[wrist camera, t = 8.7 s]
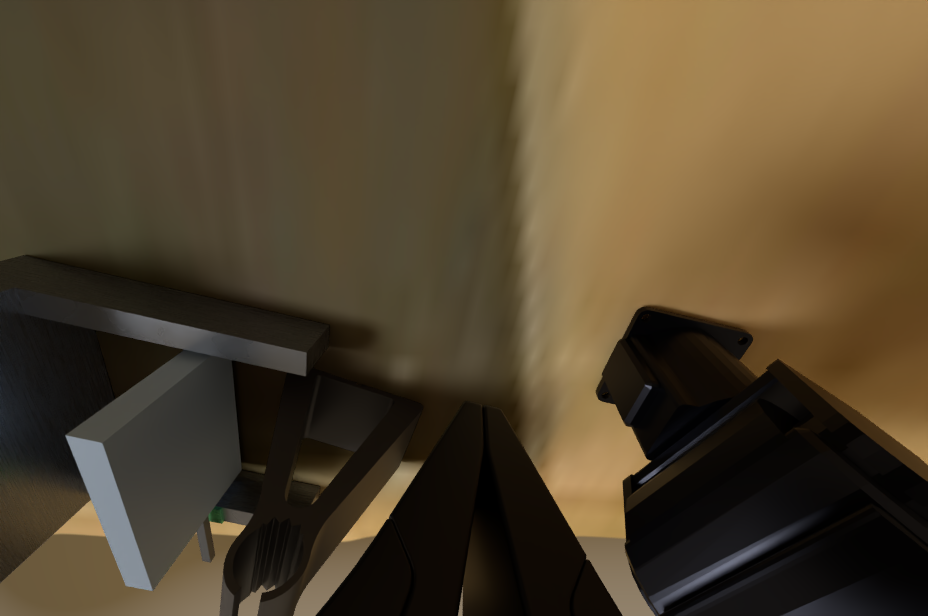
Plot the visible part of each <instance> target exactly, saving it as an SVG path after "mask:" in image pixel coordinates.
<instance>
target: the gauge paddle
mask: <svg viewBox="0 0 928 616" xmlns="http://www.w3.org/2000/svg"><path fill="white" fill-rule="evenodd" d="M65 436H66V439H67V441H68V444H69V446H70V448H71V451H72V453H73V456H74V458H75V461H76V463H77V466H78V468H79V471H80V473H81V476H82V478H83V481H84V483H85V486H86V488H87V491H88V493H89V496H90V498H91V500H92V503H93V505H94V508H95V510H96V513H97V515H98V518H99V520H100V523H101V525H102V528H103V530H104V533H105V535H106V538H107V540H108V543H109V545H110V547H111V550H112V552H113V555H114V557H115V560H116V562H117V565H118V567H119V570H120V572H121V575H122V577H123V579H124V582H125V585H126V586H130V587H135V588H140V589H145V590H150V591H153V590H154V589H155V587H156V586H157V585H158V583H159V582H160V581H161V579H162V578H163V577H164V575H165V574H166V572H167V571H168V570H169V568H170V567H171V566H172V564H173V563H174V562H175V560H176V559H177V557H178V556H179V555H180V553H181V552H182V551H183V549H184V548H185V546H186V545H187V544H188V542H189V541H190V539H191V538H192V537H193V536H194V534H195V533H196V532H197V535H198V541H199V546H200V550H201V556H202V560H203V561H206V562H211V561H212V559H213V558H214V556H215V551H214V546H213V540H212V534H211V528H210V522H209V516H208V515H209V514H210V512H211V511H212V510H213V508H214V507H215V506H216V504H217V503H218V502H219V500H220V499H221V497H222V496H223V495H224V493H225V492H226V491H227V489H228V488H229V487H230V485H231V484H232V482H233V481H234V480H235V478H236V477H237V476H238V474H239V473H240V472H241V470H242V467H241V457H240V446H239V435H238V424H237V413H236V403H235V392H234V381H233V370H232V360H229V359H225V358H220V357H216V356H211V355H207V354H202V353H198V352H193V351H189V350H183V351H182V352H181V353H179V354H178V355H177V356H175V357H174V358H172V359H171V360H170V361H168V362H167V363H165V364H164V365H163V366H161V367H160V368H158V369H157V370H156V371H154V372H153V373H151V374H150V375H149V376H147V377H146V378H144V379H143V380H142V381H140V382H139V383H137V384H136V385H135V386H133V387H132V388H130V389H129V390H128V391H126V392H125V393H123V394H122V395H121V396H119V397H118V398H116V399H115V400H114V401H112V402H111V403H110V404H108V405H107V406H105V407H104V408H103V409H101V410H100V411H98V412H97V413H96V414H94V415H93V416H91V417H90V418H89V419H87V420H86V421H84V422H83V423H82V424H80V425H79V426H77V427H76V428H75V429H73V430H72V431H70V432H69V433H68V434H66V435H65Z"/></svg>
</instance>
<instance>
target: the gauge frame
mask: <svg viewBox="0 0 928 616" xmlns="http://www.w3.org/2000/svg"><path fill="white" fill-rule="evenodd" d="M329 327H330V325H328V324H324V323H319V322H315V321H310V320H306V319H302V318H297V317H293V316H288V315H284V314H280V313H275V312H271V311H266V310H262V309H258V308H253V307H249V306H244V305H240V304H236V303H231V302H227V301H222V300H218V299H214V298H209V297H205V296H200V295H196V294H192V293H187V292H183V291H178V290H174V289H170V288H165V287H161V286H156V285H152V284H148V283H143V282H139V281H134V280H130V279H126V278H121V277H117V276H112V275H108V274H104V273H99V272H95V271H90V270H86V269H82V268H77V267H73V266H68V265H64V264H60V263H55V262H51V261H46V260H42V259H38V258H33V257H29V256H24V255H22V256H19V257H15V258H11V259H7V260H4V261H0V583H1V582H2V581H3V580H4V579H5V578H6V577H7V576H8V575H10V574H11V573H12V571H14V570H15V569H16V568H17V567H18V566H19V565H20V564H21V563H23V562H24V561H25V560H26V559H27V558H28V557H29V556H30V555H31V554H32V553H33V552H34V551H35V550H37V549H38V548H39V547H40V546H41V545H42V544H43V543H44V542H45V541H46V540H47V539H49V538H50V536H52V535H53V534H54V533H55V532H56V531H57V530H58V529H59V528H60V527H62V526H63V525H64V524H65V523H66V522H67V521H68V520H69V519H70V518H71V517H72V516H73V515H75V514H76V513H77V512H78V511H79V510H80V509H81V508H82V507H83V506H84V505H85V504H86V503H88V502H89V501H90V500H91V498H90V496H89V493H88V491H87V488H86V486H85V483H84V481H83V478H82V476H81V473H80V471H79V468H78V466H77V463H76V461H75V458H74V456H73V453H72V451H71V448H70V446H69V444H68V441H67V439H66V436H65V435H66V434H68V433H69V432H70V431H72V430H73V429H75V428H76V427H77V426H79V425H80V424H82V423H83V422H84V421H86V420H87V419H89V418H90V417H91V416H93V415H94V414H96V413H97V412H98V411H100V410H101V409H103V408H104V407H105V406H107V405H108V404H110V403H111V402H112V401H114V400H115V398H114V394H113V391H112V388H111V384H110V381H109V378H108V374H107V371H106V367H105V364H104V361H103V357H102V354H101V350H100V347H99V344H98V340H97V337H96V333H95V330H98V331H103V332H107V333H112V334H116V335H121V336H125V337H130V338H134V339H139V340H143V341H148V342H152V343H157V344H161V345H166V346H170V347H175V348H180V349H184V350H189V351H193V352H198V353H202V354H207V355H211V356H216V357H220V358H225V359H229V360H234V361H238V362H243V363H248V364H252V365H257V366H261V367H266V368H270V369H275V370H279V371H284V372H288V373H293V374H297V375H302V376H307V374H308V373H309V372H310V370H311V369H312V368H313V366H314V365H315V364H316V362H317V361H318V360H319V358H320V357H321V356H322V354H323V353H324V352H325V350H326V349H327V348H328V344H329ZM264 476H265V475H262V474H258V473H253V472H248V471H243V470H241V472H240V473H239V474H238V476H237V477H236V478H235V480H234V481H233V482H232V484H231V485H230V487H229V488H228V489H227V491H226V492H225V493H224V495H223V496H222V497H221V499H220V500H219V502H218V503H217V504H216V506H215V507H214V508H213V510H212V511H211V512H210V514H209V515H208V516H209V521H211V522H216V523H221V524H222V523H223V522H224V521H227V522H232V523H237V524H241V525H246V526H247V524H248V523H249V521H250V519H251V518H252V516H253V514H254V512H255V510H256V507H257V505H258V502H259V498H260V494H261V490H262V485H263V480H264ZM319 495H320V486H315V485H310V484H306V483H301V482H296V481H292V482H291V486H290V489H289V493H288V497H287V503H288V504H289V505H291V506H292V507H295V508H305V507H308V506H310V505H312V504H313V503H314V502H315V501H316V500H317V499H318V498H319Z"/></svg>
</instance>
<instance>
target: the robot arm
mask: <svg viewBox="0 0 928 616" xmlns="http://www.w3.org/2000/svg"><path fill="white" fill-rule="evenodd" d="M646 314H649V315H648V317H647V318H645V319H642V317H643V316H644V315H646ZM742 337H743V339H741V340H740V341H738V340H739V339H740V338H742ZM752 341H753V337H752V335H751V334H749V333H748V332H747V331H745V330H742V329H738V328H734V327H730V326H726V325H721V324H717V323H713V322H709V321H705V320H700V319H696V318H692V317H688V316H684V315H679V314H675V313H671V312H667V311H663V310H658V309H654V308H650V307H642V308H640V309H638V310H637V311H636V312H635V314H634V316H633V318H632V320H631V322H630V324H629V326H628V328H627V330H626V332H625V334H624V336H623V338H622V339H620V340H619V341H618V342H617V344H616V346H615V348H614V350H613V352H612V354H611V356H610V358H609V360H608V362H607V364H606V366H605V368H604V370H603V372H602V376H603V377H602V379H601V381H600V383H599V385H598V387H597V389H596V395H597V397H598V399H599V400H600V401H602V402H607V403H611V404H615V405H616V407H617V409H618V411H619V413H620V416H621V418H622V420H623V422H624V424H625V425H626V426H628V427H632V429H633V431H634V433H635V435H636V438H637V440H638V442H639V444H640V446H641V448H642V450H643V452H644V454H645V456H646V458H647V459H648V460H651V462H650V463H649V464H647V465H646V466H645V467H644V468H642V469H641V470H640V471H639V472H637V473H636V474H635V475H632V474H631V475H630V476H628V477H627V478H626V479H624V480H623V496H624V513H625V529H626V543H625V553H626V556H627V558H628V561H629V565H630V568H631V572H632V575H633V578H634V580H635V582H636V584H637V586H638V588H639V590H640V592H641V594H642V596H643V597H644V599H645V601H646V602H647V604H648V606H649V607H650V609H651V610H652V611H653V612H654V614H655V616H928V465H927V464H926V463H925V462H924V461H922V460H921V459H920V458H919V457H918V456H916V455H915V454H914V453H913V452H911V451H910V450H909V449H907V448H906V447H905V446H903V445H902V444H900V443H899V442H898V441H896V440H895V439H894V438H892V437H891V436H890V435H888V434H887V433H886V432H884V431H883V430H882V429H880V428H879V427H878V426H876V425H875V424H874V423H872V422H871V421H870V420H868V419H867V418H866V417H864V416H863V415H862V414H860V413H859V412H857V411H856V410H855V409H853V408H852V407H850V406H849V405H847V404H846V403H844V402H843V401H841V400H840V399H838V398H837V397H835V396H833V395H832V394H830V393H829V392H827V391H826V390H824V389H823V388H821V387H820V386H818V385H817V384H815V383H814V382H812V381H811V380H809V379H808V378H806V377H805V376H803V375H802V374H800V373H799V372H797V371H796V370H794V369H793V368H791V367H790V366H788V365H787V364H785V363H784V362H782V361H780V360H779V359H777V360H776V361H774V362H773V363H772V364H771V365H769V366H768V367H767V368H766V369H767V370H768V371H766V372H765V373H764V374H763V375H761V376H760V377H759V378H758V377H757V376H755V375H754V374H753V373H752V372H751V371H750V370H749V369H748V368H747V367H746V366H745V365H744V364H743V363H741V362H740V361H739V360H740V359H741V357H742V356H743V354H744V353H745V352H746V350H747V349H748V347H749V346H750V345H751V343H752ZM605 392H608V393H607V394H603V393H605ZM462 587H463V616H622V614H621V612H620V611H619V609H618V607H617V606H616V604H615V602H614V601H613V599H612V598H611V596H610V594H609V593H608V591H607V589H606V588H605V586H604V584H603V583H602V581H601V579H600V578H599V576H598V574H597V573H596V571H595V569H594V567H593V566H592V564H591V562H590V561H589V560H586V554H585V552H584V550H583V549H582V547H581V545H580V544H579V542H578V540H577V538H576V537H575V535H574V533H573V531H572V530H571V528H570V526H569V525H568V523H567V521H566V519H565V518H564V516H563V514H562V513H561V511H560V509H559V507H558V506H557V504H556V502H555V500H554V499H553V497H552V495H551V494H550V492H549V490H548V488H547V487H546V485H545V483H544V482H543V480H542V478H541V476H540V475H539V473H538V471H537V470H536V468H535V466H534V464H533V463H532V461H531V459H530V457H529V456H528V454H527V452H526V451H525V449H524V447H523V445H522V444H521V442H520V440H519V439H518V437H517V435H516V433H515V432H514V430H513V428H512V426H511V425H510V423H509V421H508V420H507V418H506V416H505V414H504V413H503V411H502V410H501V409H500V408H497V407H492V406H488V405H484V406H483V407H482V405H481V404H479V403H474V402H470V401H465V402H464V403H463V404H462V406H461V407H460V409H459V410H458V412H457V413H456V415H455V416H454V418H453V419H452V421H451V422H450V424H449V426H448V427H447V429H446V430H445V432H444V433H443V435H442V436H441V438H440V439H439V441H438V442H437V444H436V445H435V447H434V449H433V450H432V452H431V453H430V455H429V456H428V458H427V459H426V461H425V462H424V464H423V465H422V467H421V468H420V470H419V472H418V473H417V475H416V476H415V478H414V479H413V481H412V482H411V484H410V485H409V487H408V488H407V490H406V491H405V493H404V494H403V496H402V498H401V499H400V501H399V502H398V504H397V505H396V507H395V508H394V510H393V511H392V513H391V514H390V516H389V519H387V520H386V522H385V523H384V525H383V526H382V528H381V529H380V531H379V532H378V534H377V535H376V537H375V538H374V540H373V542H372V543H371V544H370V546H369V547H368V548H367V550H366V551H365V553H364V554H363V556H362V557H361V558H360V560H359V561H358V563H357V564H356V565H355V567H354V568H353V569H352V571H351V572H350V573H349V575H348V576H347V577H346V578H345V580H344V581H343V582H342V583H341V585H340V586H339V587H338V589H337V590H336V591H335V593H334V594H333V595H332V596H331V597H330V599H329V600H328V601H327V603H326V604H325V605H324V606H323V607H322V608H321V610H320V611H319V612H318V613H317V615H316V616H458V612H459V605H460V599H461V593H462Z"/></svg>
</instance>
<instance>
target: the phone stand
mask: <svg viewBox="0 0 928 616" xmlns="http://www.w3.org/2000/svg"><path fill="white" fill-rule="evenodd" d="M422 410H423V406H422V405H421V404H420V403H418V402H415V401H411V400H408V399H405V398H402V397H399V396H396V395H393V394H390V393H387V392H384V391H381V390H378V389H375V388H371V387H368V386H365V385H360V386H359V385H357V384H356V382H353V381H350V380H347V379H344V378H341V377H338V376H335V375H332V374H328V373H325V372H322V371H319V370H316V369H313V368H312V369H311V370H310V372H309V373H308V374H307V376H302V375H297V374H293V373H288V372H287V375H286V379H285V384H284V389H283V393H282V398H281V402H280V407H279V412H278V416H277V421H276V425H275V430H274V435H273V439H272V444H271V448H270V453H269V457H268V462H267V467H266V471H265V476H264V480H263V485H262V490H261V494H260V498H259V502H258V505H257V507H256V510H255V512H254V514H253V516H252V518H251V519H250V521H249V523H248V524H247V526H246V527H245V528H244V530H243V531H242V532H241V534H240V535H239V536H238V537H237V538H236V540H235V541H234V542H233V544H232V545H231V547H230V549H229V551H228V553H227V555H226V558H225V562H224V569H223V582H222V593H221V605H220V616H238V608H239V604H240V602H241V601H243V600H244V599H245V598H246V597H248V596H249V595H250V593H251V592H256V591H257V590H258V589H259V587H260V586H261V585H263V587H264V588H265V589H266V590H268V589H269V588H271V587H272V586H274V585H275V589H274V590H272V591H269V592H265V593H262V595H261V600H260V605H259V611H258V616H293V614H294V611H295V608H296V605H297V603H298V600H299V598H300V596H301V594H302V592H303V591H304V589H305V588H306V586H307V585H308V583H309V582H310V581H311V579H312V578H313V577H314V576H315V574H316V573H317V572H318V570H319V569H320V568H321V566H322V565H323V564H324V563H325V561H326V560H327V559H328V557H329V556H330V555H331V554H332V552H333V551H334V550H335V548H336V547H337V546H338V545H339V543H340V542H341V541H342V539H343V538H344V537H345V536H346V534H347V533H348V532H349V530H350V529H351V528H352V527H353V525H354V524H355V523H356V521H357V520H358V519H359V518H360V516H361V515H362V514H363V512H364V511H365V510H366V509H367V507H368V506H369V505H370V503H371V502H372V501H373V500H374V498H375V497H376V496H377V494H378V493H379V492H380V491H381V489H382V488H383V487H384V485H385V484H386V483H387V482H388V480H389V479H390V478H391V476H392V475H393V474H394V473H395V471H396V470H397V469H398V467H399V466H400V463H401V461H402V458H403V456H404V453H405V451H406V449H407V446H408V444H409V441H410V439H411V436H412V434H413V432H414V429H415V427H416V424H417V422H418V420H419V417H420V415H421V412H422ZM304 438H311V439H314V440H317V441H320V442H324V443H327V444H330V445H333V446H337V447H340V448H343V449H347V450H350V451H353V452H355V453H354V454H353V456H352V457H351V458H350V459H349V461H348V462H347V463H346V464H345V465H344V467H343V468H342V469H341V470H340V472H339V473H338V474H337V475H336V477H335V478H334V479H333V480H332V482H331V483H330V484H329V485H328V486H327V488H326V489H325V490H324V491H323V493H322V494H321V495H320V496H319V498H318V499H317V500H316V501H315V502H314V503H313V504H312V505H310V506H308V507H305V508H295V507H292V506H291V505H289V504H288V503H287V497H288V493H289V489H290V486H291V482H292V478H293V474H294V470H295V466H296V462H297V458H298V454H299V450H300V446H301V442H302V440H303V439H304Z"/></svg>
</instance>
